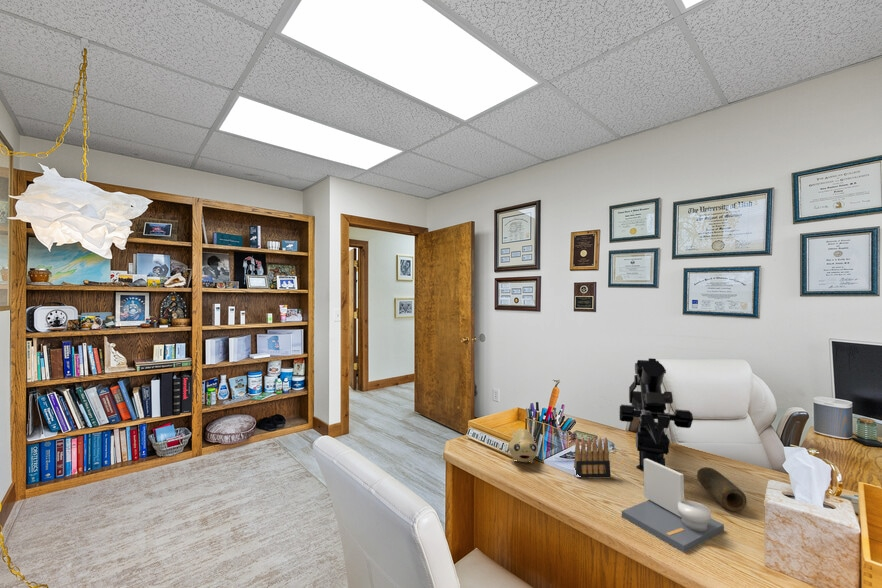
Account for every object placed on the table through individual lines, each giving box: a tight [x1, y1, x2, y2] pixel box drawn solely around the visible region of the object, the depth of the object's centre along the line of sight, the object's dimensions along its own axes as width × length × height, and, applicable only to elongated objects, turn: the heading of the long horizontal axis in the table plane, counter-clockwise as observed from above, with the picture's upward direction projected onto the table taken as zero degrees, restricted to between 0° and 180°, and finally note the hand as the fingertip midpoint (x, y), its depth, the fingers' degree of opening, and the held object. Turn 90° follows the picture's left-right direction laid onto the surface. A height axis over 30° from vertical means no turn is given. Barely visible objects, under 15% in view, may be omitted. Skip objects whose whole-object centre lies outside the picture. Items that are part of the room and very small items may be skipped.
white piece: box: [643, 458, 712, 523], centre depth 92 cm, size 16×6×10 cm, turn 22°
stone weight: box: [696, 466, 747, 512], centre depth 101 cm, size 15×7×7 cm, turn 172°
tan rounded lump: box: [507, 428, 539, 463], centre depth 126 cm, size 10×12×11 cm
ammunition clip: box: [573, 436, 612, 478], centre depth 115 cm, size 11×2×12 cm, turn 90°
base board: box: [621, 499, 725, 553], centre depth 91 cm, size 15×16×4 cm
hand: (657, 443), depth 106 cm, fingers closed
